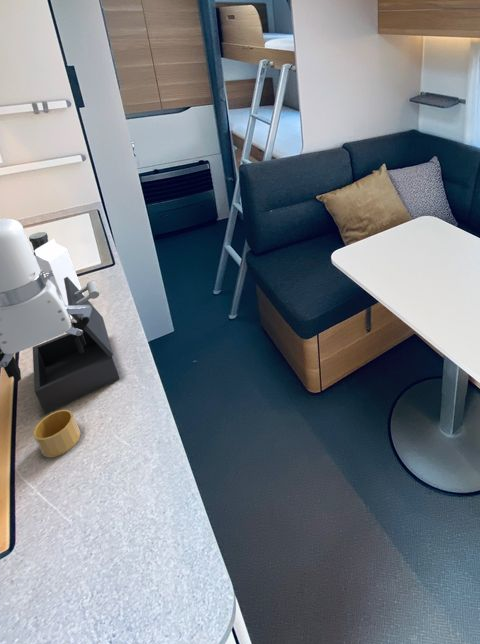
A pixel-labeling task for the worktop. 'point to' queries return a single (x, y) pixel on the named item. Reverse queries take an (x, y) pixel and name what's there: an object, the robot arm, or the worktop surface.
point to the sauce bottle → (38, 239)
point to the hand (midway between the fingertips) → (50, 362)
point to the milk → (57, 266)
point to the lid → (96, 320)
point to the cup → (57, 433)
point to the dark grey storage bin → (70, 370)
